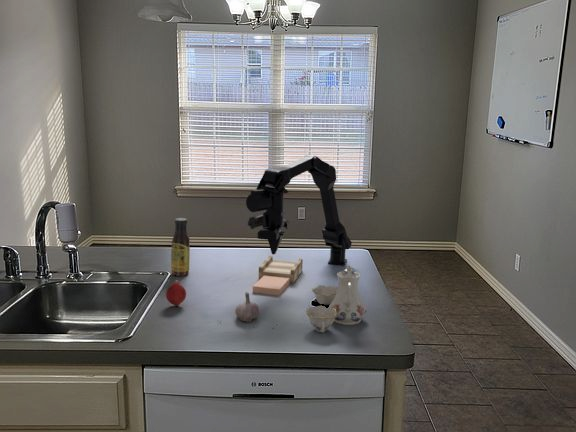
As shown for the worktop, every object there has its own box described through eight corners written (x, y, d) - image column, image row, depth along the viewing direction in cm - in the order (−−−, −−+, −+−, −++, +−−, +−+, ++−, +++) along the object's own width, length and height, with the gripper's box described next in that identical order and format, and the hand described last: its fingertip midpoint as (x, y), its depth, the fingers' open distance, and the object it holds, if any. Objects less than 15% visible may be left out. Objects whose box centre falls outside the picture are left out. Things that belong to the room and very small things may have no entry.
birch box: (269, 267, 205) (269, 255, 204) (302, 270, 202) (302, 258, 201) (258, 279, 191) (258, 267, 190) (293, 283, 189) (294, 270, 188)
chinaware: (309, 304, 175) (305, 253, 171) (363, 301, 173) (360, 250, 170) (307, 343, 147) (302, 284, 144) (371, 340, 146) (367, 280, 143)
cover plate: (264, 281, 191) (264, 274, 190) (289, 284, 189) (289, 277, 188) (252, 293, 180) (252, 286, 179) (279, 296, 177) (279, 289, 177)
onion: (169, 310, 163) (168, 284, 161) (164, 304, 168) (163, 278, 166) (188, 307, 165) (188, 282, 164) (183, 301, 170) (182, 276, 169)
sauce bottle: (167, 275, 194) (166, 219, 190) (177, 270, 200) (176, 216, 195) (184, 277, 192) (182, 221, 187) (193, 272, 197) (192, 218, 193)
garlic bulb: (249, 326, 154) (249, 298, 152) (228, 320, 157) (228, 293, 156) (265, 317, 160) (265, 290, 158) (244, 311, 164) (244, 285, 162)
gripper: (258, 201, 192) (258, 245, 195) (241, 211, 174) (241, 259, 177) (290, 203, 189) (289, 247, 193) (276, 214, 171) (275, 262, 175)
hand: (273, 254), depth 184 cm, fingers closed
